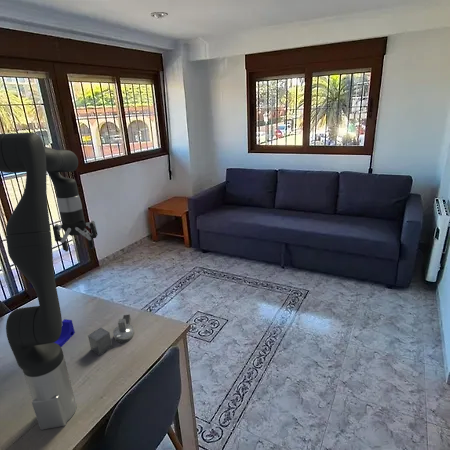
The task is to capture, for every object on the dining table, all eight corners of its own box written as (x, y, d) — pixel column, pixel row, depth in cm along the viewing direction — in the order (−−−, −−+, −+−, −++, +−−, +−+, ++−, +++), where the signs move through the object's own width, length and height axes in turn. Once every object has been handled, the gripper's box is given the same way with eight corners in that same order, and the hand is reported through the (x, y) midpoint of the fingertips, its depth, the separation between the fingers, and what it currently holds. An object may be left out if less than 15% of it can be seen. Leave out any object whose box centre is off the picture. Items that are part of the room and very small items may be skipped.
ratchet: (133, 340, 113) (130, 325, 111) (112, 343, 112) (109, 328, 110) (136, 317, 125) (134, 303, 123) (118, 320, 124) (115, 306, 122)
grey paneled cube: (112, 346, 110) (109, 332, 108) (99, 355, 107) (96, 340, 105) (103, 341, 113) (100, 327, 111) (91, 349, 109) (87, 335, 107)
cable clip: (64, 332, 119) (61, 318, 117) (75, 333, 118) (71, 320, 116) (41, 355, 108) (36, 340, 106) (52, 356, 107) (48, 342, 105)
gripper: (45, 213, 108) (55, 256, 114) (89, 209, 110) (97, 251, 116) (52, 207, 115) (62, 247, 121) (93, 203, 117) (101, 243, 123)
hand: (79, 249), depth 118 cm, fingers open, 8 cm apart
